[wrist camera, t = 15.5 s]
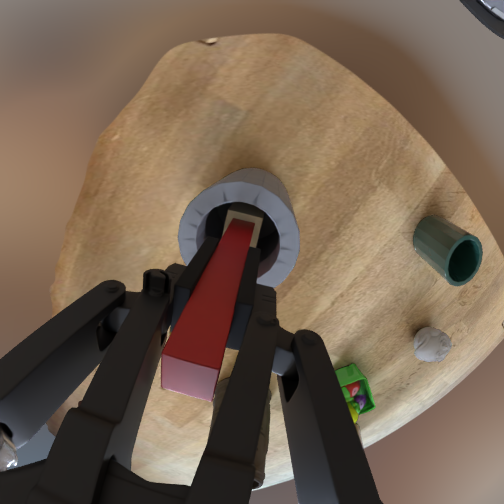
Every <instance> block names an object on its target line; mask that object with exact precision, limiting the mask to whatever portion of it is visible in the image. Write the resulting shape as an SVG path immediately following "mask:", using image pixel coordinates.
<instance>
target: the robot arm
mask: <svg viewBox="0 0 504 504" xmlns="http://www.w3.org/2000/svg"><path fill="white" fill-rule="evenodd" d="M476 1H477V2H478V3H479V4H480V5H481V6H482V7H483V8H484V9H485V10H486V11H487V12H488V13H490V14H491V15H492V16H494V17H495V18H496V19H498V20H500V21H502V22H504V0H476ZM218 243H219V239H218V238H214V237H210V236H208V237H207V238H206V240H205V241H204V242H203V244H202V245H201V247H200V248H199V249H198V251H197V252H196V254H195V255H194V257H193V258H192V260H191V261H190V262H189V264H188V265H187V266H184V265H180V264H177V263H174V264H172V265H170V266H168V268H167V269H166V270H165V271H164V270H162V269H150V270H147V271H145V272H144V274H143V289H142V291H141V292H129V291H126V287H125V285H124V284H123V283H121V282H120V281H116V280H108V281H104V282H102V283H100V284H99V285H97V286H96V287H94V288H93V289H92V290H90V291H89V292H87V293H86V294H84V295H83V296H82V297H80V298H79V299H77V300H76V301H75V302H73V303H72V304H71V305H69V306H68V307H66V308H65V309H64V310H62V311H61V312H60V313H58V314H57V315H56V316H54V317H53V318H52V319H50V320H49V321H48V322H46V323H45V324H44V325H42V326H41V327H40V328H38V329H37V330H36V331H35V332H33V333H32V334H31V335H29V336H28V337H27V338H26V339H24V340H23V341H22V342H21V343H19V344H18V345H17V346H16V347H14V348H13V349H12V350H11V351H10V352H8V353H7V354H6V355H5V356H4V357H2V358H1V359H0V504H249V499H250V495H251V491H252V486H253V482H254V477H255V471H256V467H255V465H254V460H255V455H256V450H257V446H258V441H259V436H260V431H261V426H262V421H263V416H264V411H265V405H266V400H267V395H268V389H269V384H270V378H271V373H272V372H273V373H276V374H277V380H278V386H279V392H280V398H281V403H282V409H283V415H284V421H285V427H286V433H287V438H288V444H289V450H290V456H291V462H292V468H293V474H294V480H295V485H296V491H297V496H298V503H299V504H383V503H382V502H381V500H380V498H379V495H378V492H377V489H376V485H375V482H374V479H373V476H372V473H371V470H370V467H369V464H368V461H367V458H366V456H365V453H364V450H363V447H362V444H361V441H360V438H359V435H358V432H357V430H356V427H355V424H354V421H353V418H352V416H351V413H350V410H349V407H348V405H347V402H346V399H345V397H344V394H343V391H342V389H341V386H340V383H339V381H338V378H337V375H336V373H335V370H334V368H333V365H332V363H331V360H330V357H329V355H328V352H327V350H326V347H325V345H324V342H323V340H322V338H321V337H320V336H319V335H318V334H317V333H315V332H313V331H310V330H306V329H303V330H298V331H297V332H296V333H295V334H293V333H290V332H288V331H286V330H284V329H283V328H281V327H280V326H279V320H278V319H277V318H276V292H275V290H274V289H273V287H270V286H266V285H262V284H257V276H258V268H259V260H260V252H261V249H258V248H254V247H250V246H249V249H248V253H247V258H246V262H245V266H244V270H243V274H242V278H241V282H240V286H239V291H238V295H237V299H236V303H235V307H234V314H233V319H232V323H231V327H230V331H229V336H228V340H227V344H226V348H231V349H235V350H239V353H238V356H237V359H236V362H235V365H234V368H233V370H232V373H231V376H230V379H229V382H228V385H227V388H226V391H225V394H224V397H223V400H222V403H221V405H220V408H219V411H218V414H217V417H216V420H215V423H214V425H213V428H212V431H211V434H210V437H209V439H208V442H207V445H206V448H205V450H204V452H203V455H202V457H201V460H200V463H199V465H198V468H197V471H196V474H195V476H194V479H193V482H192V484H191V486H187V485H178V484H165V483H155V482H149V481H146V480H144V479H143V478H141V477H139V476H138V475H136V474H135V473H133V472H132V471H131V457H132V452H133V448H134V444H135V440H136V437H137V433H138V429H139V426H140V422H141V419H142V415H143V412H144V408H145V405H146V402H147V398H148V395H149V392H150V389H151V385H152V382H153V379H154V376H155V373H156V369H157V366H158V363H159V360H160V357H161V354H162V351H163V348H164V345H165V342H166V339H167V330H168V328H169V326H170V325H171V326H170V332H172V331H173V329H174V327H175V325H176V323H177V321H178V319H179V317H180V315H181V313H182V311H183V309H184V307H185V305H186V303H187V302H188V300H189V298H190V297H191V295H192V293H193V291H194V289H195V287H196V285H197V283H198V281H199V279H200V278H201V276H202V274H203V272H204V270H205V268H206V266H207V265H208V263H209V261H210V259H211V257H212V255H213V253H214V252H215V250H216V248H217V246H218ZM101 361H102V362H101ZM100 362H101V363H100ZM99 363H100V365H99V367H98V369H97V371H96V373H95V375H94V377H93V379H92V381H91V383H90V385H89V387H88V389H87V391H86V393H85V395H84V398H83V400H82V402H81V404H80V405H79V407H77V408H71V409H70V410H69V411H68V412H67V414H66V415H65V417H64V420H63V422H62V424H61V426H60V428H59V431H58V433H57V435H56V438H55V440H54V443H53V445H52V447H51V449H50V452H49V455H48V457H47V459H44V460H41V461H37V462H35V463H31V464H28V465H24V466H21V467H17V468H14V469H9V470H7V468H8V466H9V465H15V464H16V463H17V462H18V457H17V455H16V449H18V448H20V447H22V446H23V445H24V444H26V443H27V442H28V441H29V440H30V439H31V438H32V437H33V436H34V435H35V434H36V433H37V432H38V431H39V430H40V428H41V427H42V426H43V425H44V424H45V423H46V422H47V421H48V419H49V418H50V417H51V416H52V415H53V414H54V413H55V411H56V410H57V409H58V408H59V407H60V406H61V405H62V404H63V403H64V401H65V400H66V399H67V398H68V397H69V396H70V395H71V394H72V393H73V391H74V390H75V389H76V388H77V387H78V386H79V385H80V384H81V383H82V382H83V381H84V380H85V378H86V377H87V376H88V375H89V374H90V373H91V372H92V371H93V370H94V369H95V368H96V367H97V366H98V364H99Z"/></svg>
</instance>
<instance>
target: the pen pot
mask: <svg viewBox="0 0 504 504" xmlns="http://www.w3.org/2000/svg"><path fill="white" fill-rule="evenodd" d="M413 245H414V248H415V251H416V252H417V254H418V255H419V256H420V257H421V258H422V259H424V260H425V261H426V262H427V263H428V264H429V265H430V266H431V267H432V268H433V269H435V270H436V271H437V272H438V273H439V274H440V275H441V276H442V277H443V278H444V279H445V280H446V281H447V282H448V283H449V284H450V285H453V286H461V285H464V284H466V283H467V282H469V281H470V280H471V279H472V278H473V277H474V276H475V274H476V273H477V271H478V269H479V267H480V265H481V261H482V255H483V251H482V245H481V242H480V241H479V239H478V238H477V237H476V236H474V235H472V234H471V233H469V232H467V231H466V230H464V229H462V228H460V227H459V226H457V225H455V224H453V223H451V222H450V221H448V220H446V219H444V218H442V217H440V216H437V215H430V216H427V217H425V218H424V219H422V220H421V221H420V223H419V224H418V225H417V227H416V229H415V232H414V236H413Z"/></svg>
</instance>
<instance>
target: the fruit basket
mask: <svg viewBox="0 0 504 504" xmlns="http://www.w3.org/2000/svg"><path fill="white" fill-rule="evenodd" d="M335 373H336V375H337V378H338V381H339V383H340V386H341V389H342V391H343V394H344V397H345V399H346V402H347V405H348V407H349V410H350V413H351V416H352V418H353V421H354V424H355V423H356V421H357V419H358V415H360V414H363V413H366V412H369V411H371V410H373V409H374V408H375V407H376V406H375V403H374V400H373V397H372V393H371V390H370V387H369V384H368V380H367V378H366V377H365V376H364V375H362V373H361V372H360V370H359V369H358V368H357V366H356V365H355V364H351V365H349V366H346V367H343V368H341V369H338V370H336V371H335Z"/></svg>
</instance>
